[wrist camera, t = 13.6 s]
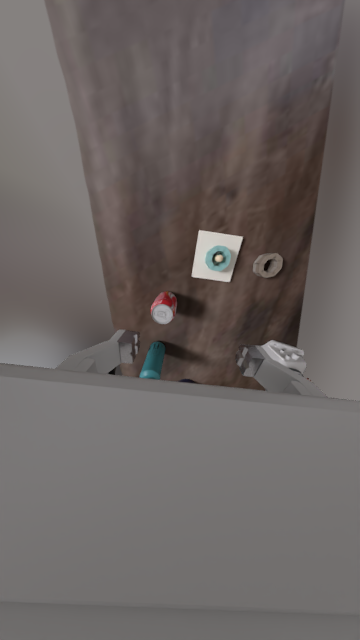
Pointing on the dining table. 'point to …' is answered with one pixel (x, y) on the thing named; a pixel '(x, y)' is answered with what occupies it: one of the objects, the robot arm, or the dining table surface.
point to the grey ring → (273, 268)
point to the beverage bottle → (153, 361)
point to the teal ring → (224, 262)
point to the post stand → (215, 255)
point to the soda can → (164, 307)
